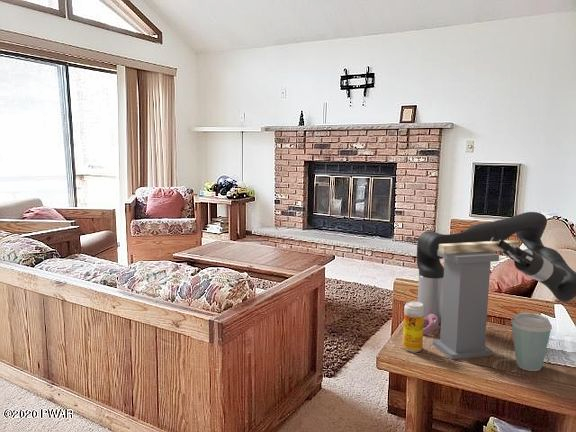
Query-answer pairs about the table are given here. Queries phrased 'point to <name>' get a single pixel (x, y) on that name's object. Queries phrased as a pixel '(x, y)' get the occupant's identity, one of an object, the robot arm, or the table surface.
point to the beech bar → (473, 247)
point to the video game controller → (430, 324)
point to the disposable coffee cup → (530, 339)
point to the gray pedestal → (465, 304)
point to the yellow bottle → (413, 326)
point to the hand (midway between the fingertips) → (495, 241)
